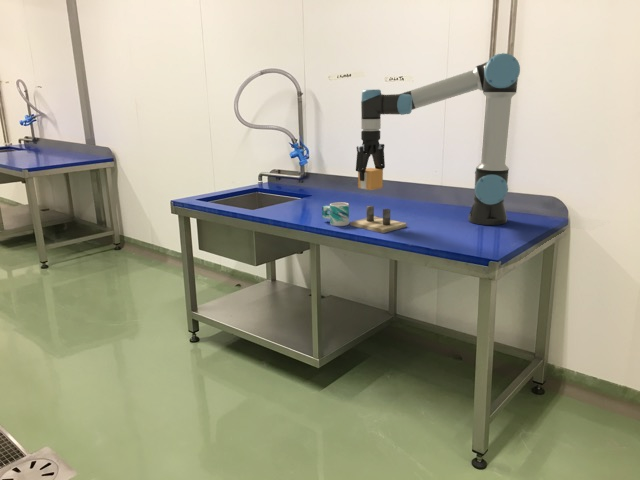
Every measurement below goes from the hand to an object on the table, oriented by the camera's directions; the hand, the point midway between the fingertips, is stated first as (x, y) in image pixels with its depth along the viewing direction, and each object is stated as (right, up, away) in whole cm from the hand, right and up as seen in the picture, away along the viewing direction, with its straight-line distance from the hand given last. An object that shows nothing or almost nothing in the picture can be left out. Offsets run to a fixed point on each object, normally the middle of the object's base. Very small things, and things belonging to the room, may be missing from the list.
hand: (370, 187), depth 217 cm
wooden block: (0, 0, 0) cm, 0 cm away
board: (+3, -16, +1) cm, 16 cm away
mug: (-14, -14, +8) cm, 22 cm away
